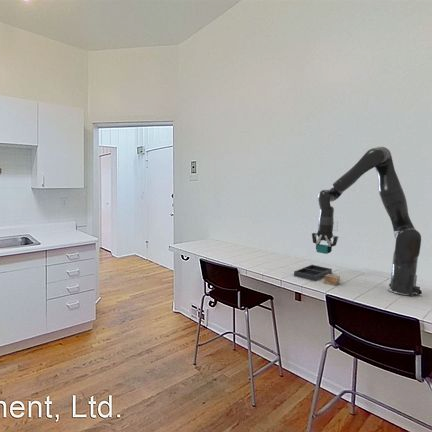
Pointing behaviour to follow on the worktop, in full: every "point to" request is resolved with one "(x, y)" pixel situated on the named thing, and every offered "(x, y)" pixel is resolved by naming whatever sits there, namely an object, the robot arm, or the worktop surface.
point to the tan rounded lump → (332, 279)
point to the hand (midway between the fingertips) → (323, 251)
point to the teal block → (322, 249)
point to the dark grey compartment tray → (312, 272)
